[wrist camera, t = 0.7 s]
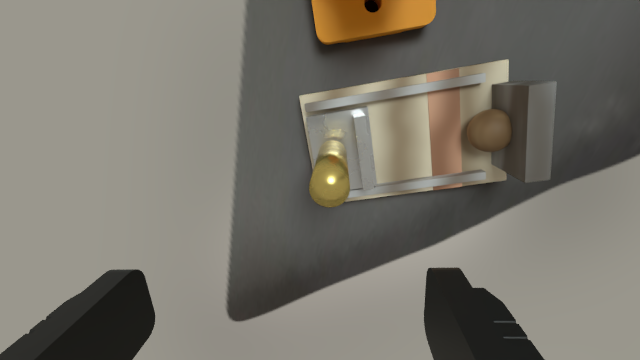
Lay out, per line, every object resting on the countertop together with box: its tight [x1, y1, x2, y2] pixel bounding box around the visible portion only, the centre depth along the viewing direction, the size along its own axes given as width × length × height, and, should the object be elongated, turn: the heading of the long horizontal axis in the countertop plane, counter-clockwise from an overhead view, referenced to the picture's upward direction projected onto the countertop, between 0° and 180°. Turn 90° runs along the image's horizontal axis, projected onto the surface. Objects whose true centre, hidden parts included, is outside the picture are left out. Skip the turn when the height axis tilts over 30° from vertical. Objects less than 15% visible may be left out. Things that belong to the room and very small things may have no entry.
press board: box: [299, 59, 557, 202], centre depth 29 cm, size 20×12×8 cm, turn 100°
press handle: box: [306, 106, 377, 207], centre depth 26 cm, size 6×8×12 cm
